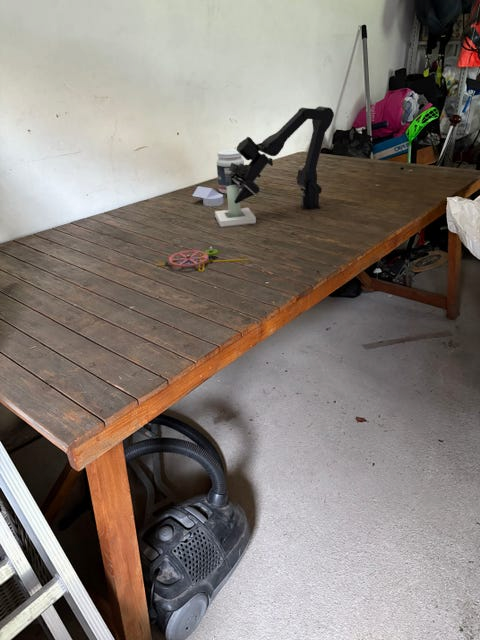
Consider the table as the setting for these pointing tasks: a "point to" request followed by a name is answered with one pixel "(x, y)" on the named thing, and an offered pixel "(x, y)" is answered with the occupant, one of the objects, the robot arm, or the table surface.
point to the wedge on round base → (209, 196)
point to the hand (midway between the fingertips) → (230, 200)
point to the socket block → (235, 218)
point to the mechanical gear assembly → (189, 260)
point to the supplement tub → (226, 167)
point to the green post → (233, 208)
